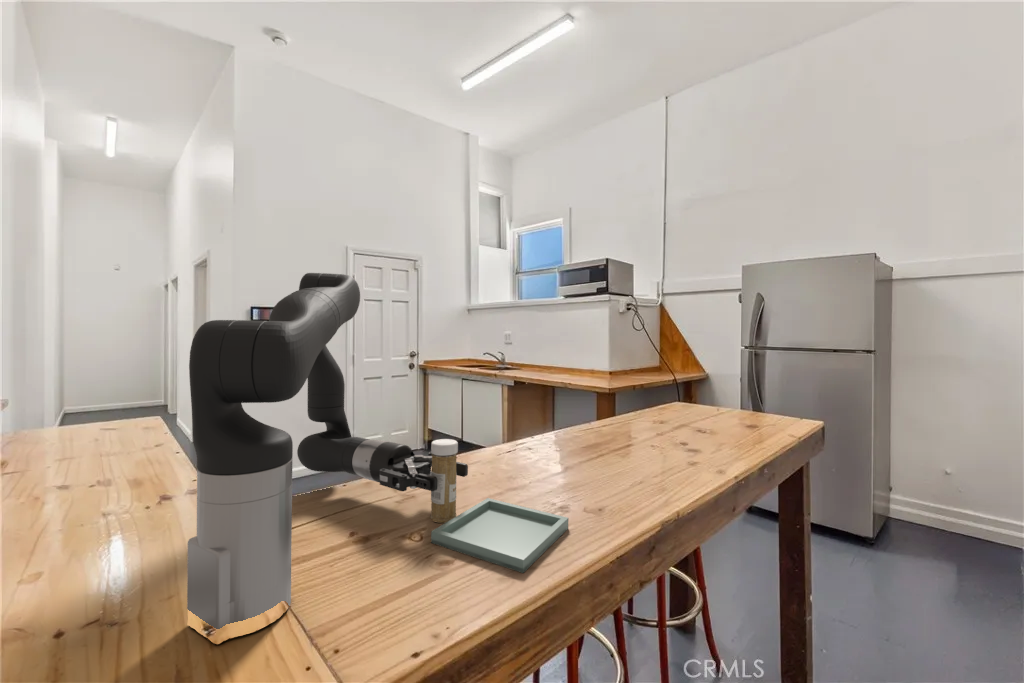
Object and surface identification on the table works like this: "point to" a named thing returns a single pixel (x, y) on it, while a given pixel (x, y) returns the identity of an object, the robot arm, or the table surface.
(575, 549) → the table surface
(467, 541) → the tray
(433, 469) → the spice jar
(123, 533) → the table surface
